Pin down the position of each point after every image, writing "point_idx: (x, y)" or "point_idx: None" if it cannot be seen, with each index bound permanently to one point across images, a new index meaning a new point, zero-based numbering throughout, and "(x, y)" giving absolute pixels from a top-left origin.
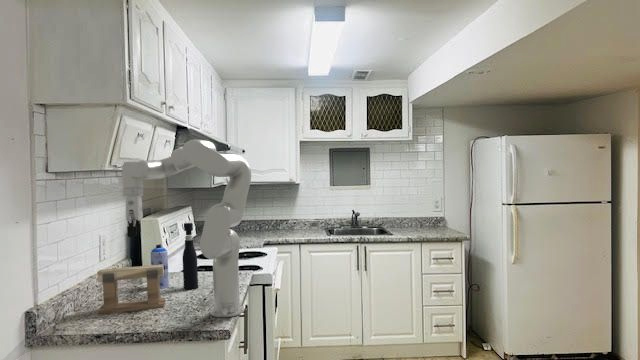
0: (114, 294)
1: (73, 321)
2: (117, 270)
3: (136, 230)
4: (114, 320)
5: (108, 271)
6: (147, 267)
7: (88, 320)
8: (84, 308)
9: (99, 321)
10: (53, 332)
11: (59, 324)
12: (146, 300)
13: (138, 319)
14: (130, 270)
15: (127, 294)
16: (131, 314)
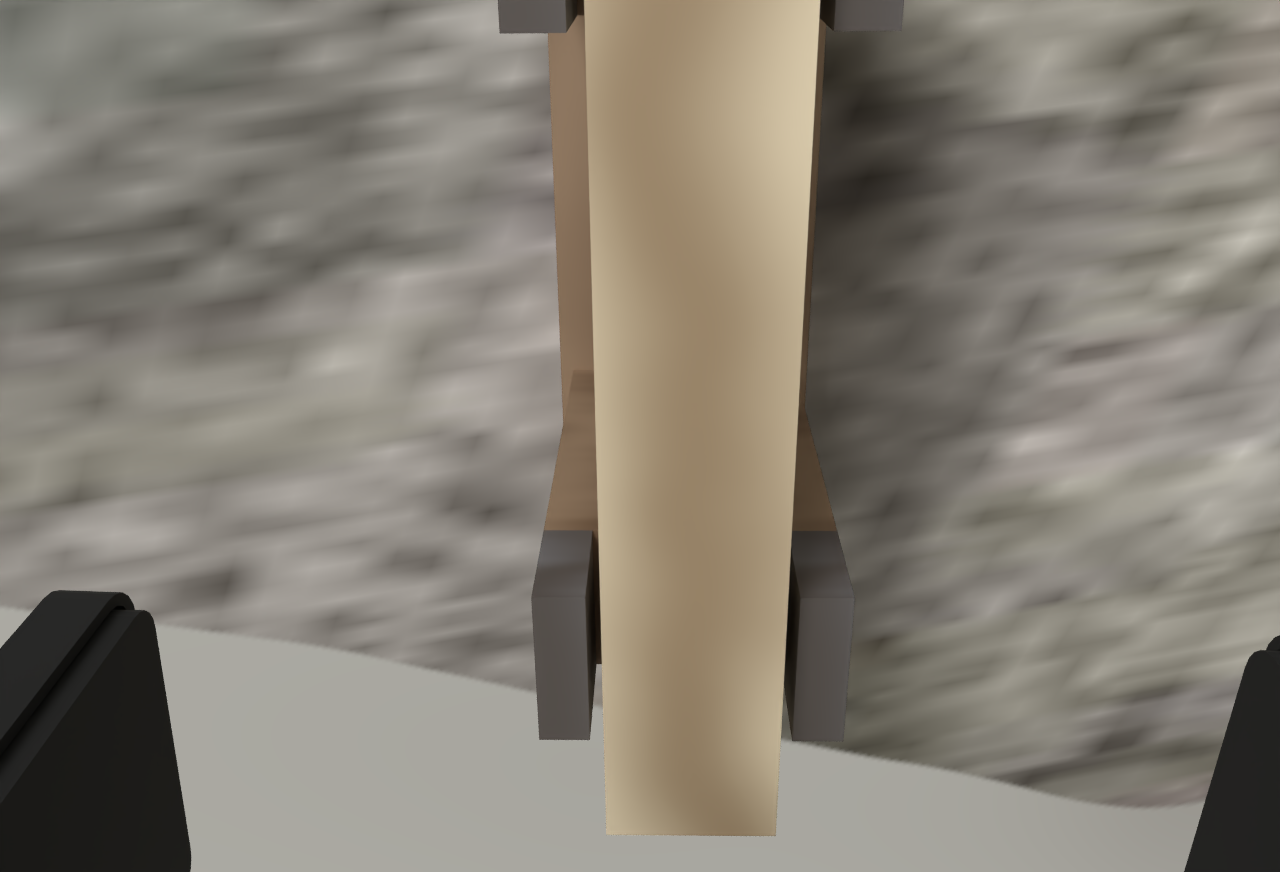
0: (811, 442)
1: (934, 675)
2: (786, 573)
3: (131, 819)
4: (1113, 310)
5: (782, 696)
6: (801, 22)
7: (971, 558)
8: (514, 672)
9: (1065, 453)
10: (1187, 753)
11: (969, 760)
12: (581, 22)
13: (1230, 40)
14: (797, 356)
15: (30, 334)
16: (973, 155)
